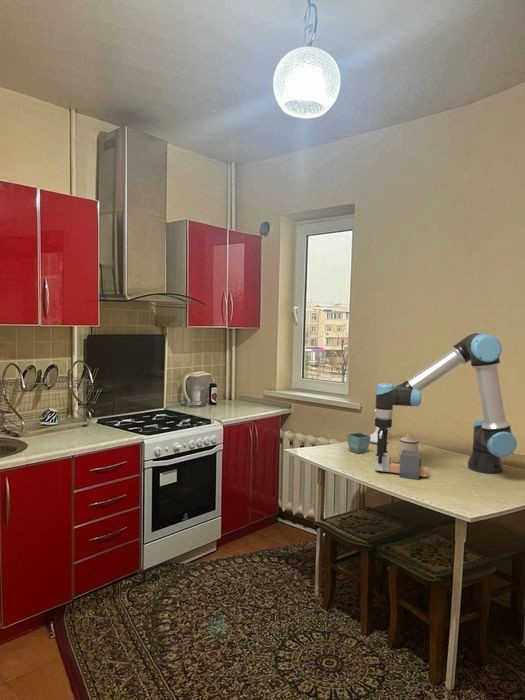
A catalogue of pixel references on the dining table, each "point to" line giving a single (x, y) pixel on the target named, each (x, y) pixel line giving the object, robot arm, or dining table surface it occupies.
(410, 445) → the teacup with lid
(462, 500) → the dining table surface
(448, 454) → the dining table surface
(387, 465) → the orange bar on cube
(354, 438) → the flower pot
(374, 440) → the flower in vase
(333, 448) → the dining table surface
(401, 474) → the block
